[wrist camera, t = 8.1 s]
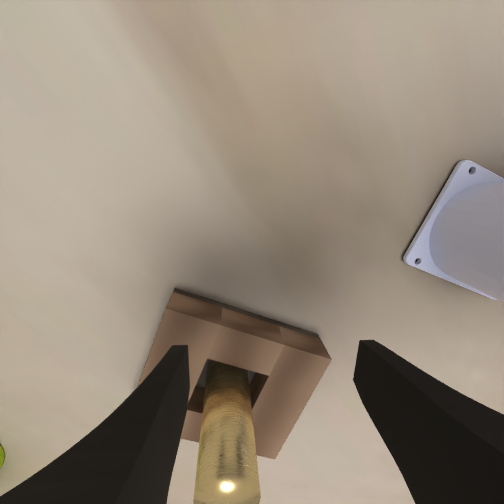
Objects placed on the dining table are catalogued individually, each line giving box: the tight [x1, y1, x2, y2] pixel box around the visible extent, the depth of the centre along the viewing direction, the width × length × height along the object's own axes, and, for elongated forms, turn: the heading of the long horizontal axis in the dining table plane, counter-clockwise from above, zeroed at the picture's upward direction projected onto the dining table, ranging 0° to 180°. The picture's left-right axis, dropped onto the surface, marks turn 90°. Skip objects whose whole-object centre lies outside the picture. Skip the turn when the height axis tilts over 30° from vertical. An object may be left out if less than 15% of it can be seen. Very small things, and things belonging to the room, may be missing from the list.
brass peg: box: [193, 360, 260, 504], centre depth 17 cm, size 3×3×9 cm
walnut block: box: [138, 288, 332, 459], centre depth 21 cm, size 12×10×3 cm
